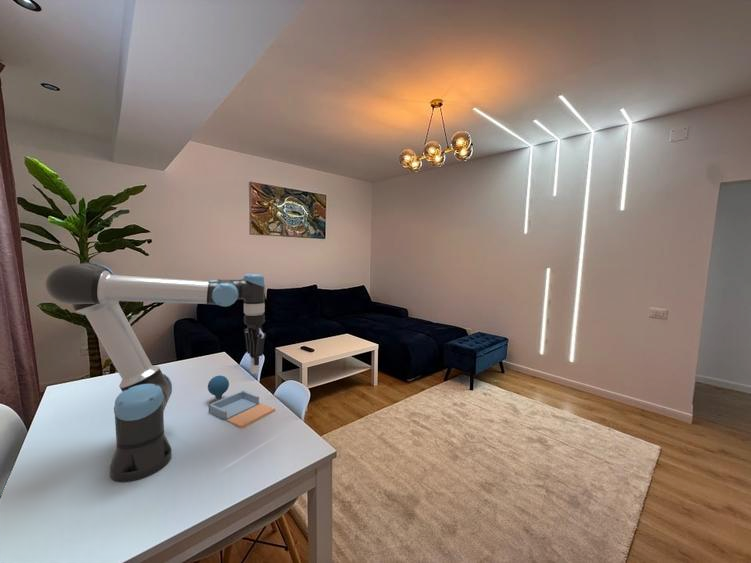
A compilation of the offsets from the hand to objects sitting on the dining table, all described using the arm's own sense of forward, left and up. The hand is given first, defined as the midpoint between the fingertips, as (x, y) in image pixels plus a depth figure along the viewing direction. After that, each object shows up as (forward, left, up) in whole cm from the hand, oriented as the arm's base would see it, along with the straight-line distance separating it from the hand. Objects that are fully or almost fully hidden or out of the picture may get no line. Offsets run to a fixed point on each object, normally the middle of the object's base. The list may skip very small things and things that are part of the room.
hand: (254, 372), depth 119 cm
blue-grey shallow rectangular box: (0, +14, -19) cm, 24 cm away
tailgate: (0, +7, -19) cm, 20 cm away
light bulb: (0, +25, -20) cm, 32 cm away
